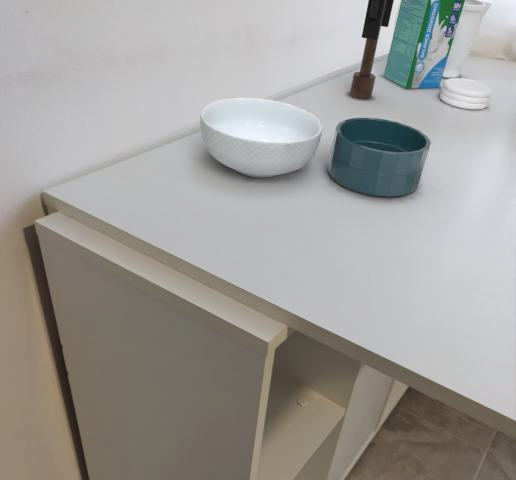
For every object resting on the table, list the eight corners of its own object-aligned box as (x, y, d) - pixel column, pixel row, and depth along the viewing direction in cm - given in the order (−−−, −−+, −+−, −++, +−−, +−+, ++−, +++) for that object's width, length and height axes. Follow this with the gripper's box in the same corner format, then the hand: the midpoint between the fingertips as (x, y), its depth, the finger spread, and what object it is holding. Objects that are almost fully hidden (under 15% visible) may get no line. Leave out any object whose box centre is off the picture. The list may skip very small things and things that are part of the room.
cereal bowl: (204, 191, 71) (205, 138, 66) (195, 142, 83) (196, 94, 78) (327, 193, 74) (336, 142, 69) (301, 146, 86) (308, 99, 81)
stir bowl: (421, 172, 83) (434, 129, 78) (411, 207, 73) (425, 161, 69) (338, 153, 85) (346, 111, 81) (318, 185, 75) (326, 140, 71)
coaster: (432, 101, 111) (437, 83, 109) (447, 91, 118) (452, 74, 115) (479, 114, 108) (486, 95, 105) (492, 103, 114) (498, 85, 112)
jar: (461, 83, 124) (485, 8, 114) (417, 74, 126) (437, -1, 116) (465, 72, 132) (488, 1, 122) (423, 64, 134) (442, -7, 124)
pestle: (372, 95, 110) (399, -24, 97) (369, 101, 107) (396, -22, 94) (352, 91, 111) (375, -28, 98) (347, 96, 108) (371, -26, 94)
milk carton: (406, 89, 116) (443, -54, 99) (383, 76, 122) (414, -61, 105) (439, 87, 119) (480, -51, 103) (415, 75, 125) (450, -58, 109)
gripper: (393, -117, 97) (367, 18, 111) (370, -121, 79) (342, 40, 93) (435, -112, 96) (403, 24, 110) (421, -115, 77) (385, 48, 91)
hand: (375, 32), depth 101 cm, fingers open, 13 cm apart
